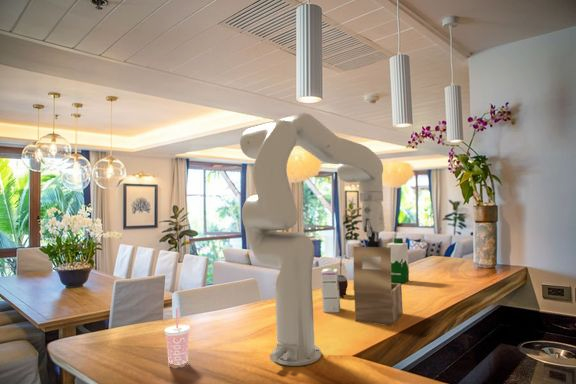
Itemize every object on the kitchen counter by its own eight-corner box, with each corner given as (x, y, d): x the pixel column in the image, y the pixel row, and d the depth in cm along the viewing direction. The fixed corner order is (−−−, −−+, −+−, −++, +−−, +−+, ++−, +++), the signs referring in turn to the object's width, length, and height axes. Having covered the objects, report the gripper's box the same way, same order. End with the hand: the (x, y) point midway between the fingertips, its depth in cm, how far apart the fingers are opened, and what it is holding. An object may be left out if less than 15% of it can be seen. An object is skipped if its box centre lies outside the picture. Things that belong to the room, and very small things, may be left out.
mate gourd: (335, 298, 152) (333, 261, 152) (327, 294, 159) (325, 258, 160) (352, 296, 154) (350, 259, 155) (343, 292, 162) (341, 257, 162)
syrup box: (339, 312, 133) (337, 271, 133) (322, 312, 134) (320, 271, 134) (340, 308, 138) (338, 268, 139) (324, 307, 139) (322, 268, 140)
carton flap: (391, 293, 117) (390, 293, 116) (354, 290, 123) (353, 290, 122) (390, 247, 119) (390, 247, 118) (354, 246, 125) (353, 246, 124)
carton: (393, 325, 117) (391, 293, 117) (355, 321, 122) (354, 290, 123) (402, 313, 129) (401, 283, 129) (368, 309, 135) (366, 281, 135)
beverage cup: (162, 370, 92) (160, 312, 92) (170, 360, 98) (168, 305, 98) (187, 369, 92) (185, 311, 92) (193, 359, 98) (191, 304, 98)
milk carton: (411, 280, 179) (409, 238, 179) (405, 284, 171) (402, 240, 172) (393, 279, 184) (391, 237, 184) (386, 282, 176) (384, 239, 177)
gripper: (376, 197, 116) (379, 257, 115) (388, 196, 129) (391, 250, 128) (352, 198, 119) (355, 256, 119) (366, 197, 132) (369, 250, 132)
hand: (374, 253), depth 124 cm, fingers closed
